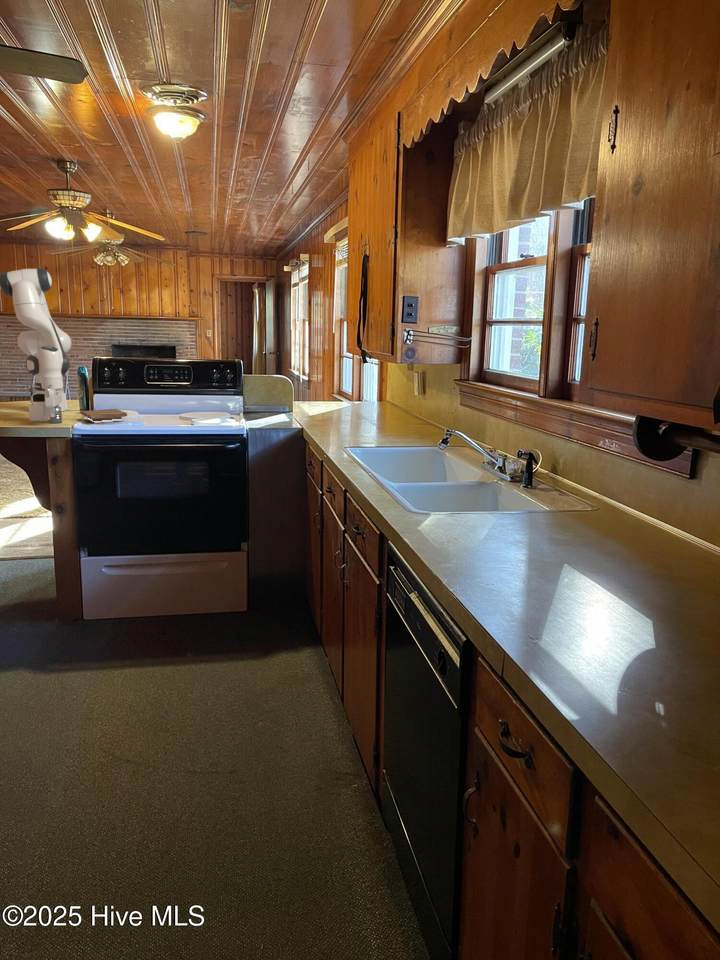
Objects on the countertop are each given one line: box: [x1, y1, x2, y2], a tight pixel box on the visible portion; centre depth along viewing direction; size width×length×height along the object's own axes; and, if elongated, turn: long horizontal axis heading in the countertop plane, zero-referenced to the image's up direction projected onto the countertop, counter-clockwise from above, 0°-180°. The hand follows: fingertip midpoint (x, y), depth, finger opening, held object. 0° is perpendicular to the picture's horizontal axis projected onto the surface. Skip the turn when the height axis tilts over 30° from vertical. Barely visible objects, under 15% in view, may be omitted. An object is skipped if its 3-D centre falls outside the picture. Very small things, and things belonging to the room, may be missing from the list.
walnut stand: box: [80, 408, 128, 421], centre depth 321 cm, size 16×16×4 cm
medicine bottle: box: [28, 394, 50, 422], centre depth 319 cm, size 7×7×12 cm
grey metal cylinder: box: [49, 407, 63, 425], centre depth 313 cm, size 5×5×7 cm
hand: (54, 415), depth 313 cm, fingers open, 8 cm apart
